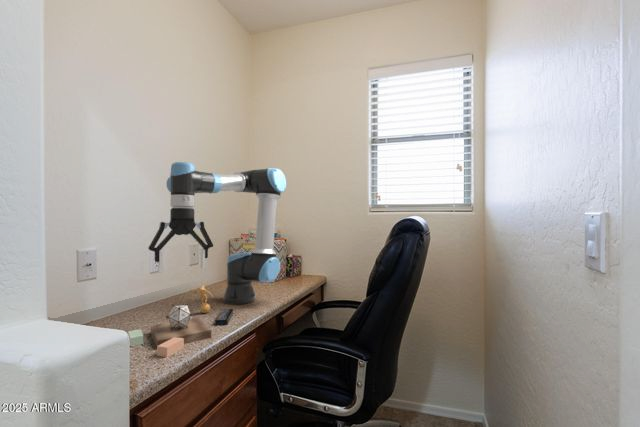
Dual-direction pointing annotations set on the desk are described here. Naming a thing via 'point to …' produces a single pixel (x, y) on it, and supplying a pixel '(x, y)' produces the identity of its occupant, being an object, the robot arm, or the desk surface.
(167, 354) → the terracotta brick
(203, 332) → the walnut board
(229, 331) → the desk surface
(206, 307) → the figurine
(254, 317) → the desk surface
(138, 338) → the sage brick
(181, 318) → the game die
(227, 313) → the multiport hub
